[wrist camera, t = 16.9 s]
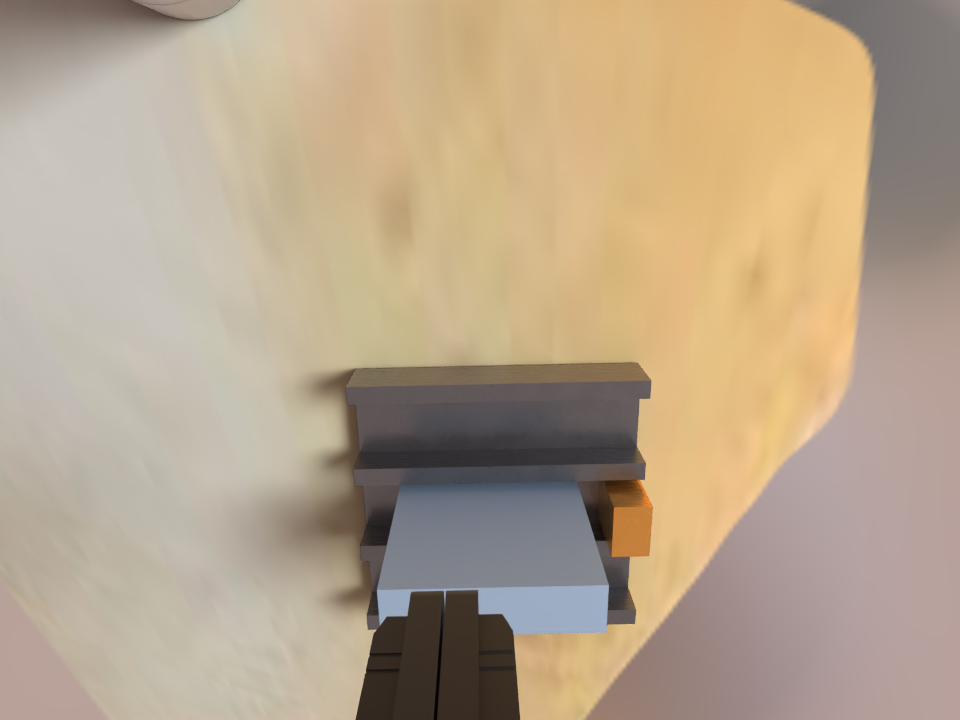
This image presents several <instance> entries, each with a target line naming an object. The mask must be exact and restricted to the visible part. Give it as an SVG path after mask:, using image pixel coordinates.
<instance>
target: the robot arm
mask: <svg viewBox="0 0 960 720" xmlns="http://www.w3.org/2000/svg"><path fill="white" fill-rule="evenodd" d="M132 1H134V2H136V3H139V4H141V5H144V6H146V7H148V8H151V9H153V10H155V11H157V12H160V13H162V14H164V15H166V16H170V17H175V18H179V19H184V20H199V19H205V18H209V17H213V16H217V15H219V14H221V13H223V12H225V11H226V10H228V9H230V8H232V7H233V6H234V5H235V4H236V3H237V2H239V1H240V0H132ZM356 720H520V712H519V700H518V687H517V674H516V662H515V649H514V636H513V630H512V628H511V627H510V625H509V624H508V622H507V620H506V619H505V617H504V616H503V614H479V603H478V590H453V591H446V597H445V599H444V591H413V592H411V595H410V601H409V608H408V615H407V616H387V617H386V618H385V620H384V621H383V622H382V624H381V625H380V626H379V628H378V629H377V630H376V632H375V633H374V635H373V640H372V645H371V649H370V657H369V659H368V664H367V668H366V674H365V678H364V683H363V687H362V692H361V697H360V701H359V706H358V711H357V716H356Z"/></svg>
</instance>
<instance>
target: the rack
mask: <svg viewBox="0 0 960 720" xmlns="http://www.w3.org/2000/svg"><path fill="white" fill-rule="evenodd" d="M650 393H651V380H650V378H649V377H648V376H647V374H646V373H645V372H644V370H643V369H642V368H641V366H640V365H639V364H638V363H607V364H561V365H514V366H468V367H422V368H376V369H355V371H354V373H353V375H352V377H351V378H350V380H349V382H348V384H347V386H346V397H347V405H356V414H357V426H358V437H359V448H360V453H359V456H358V458H357V461H356V463H355V466H354V469H353V473H354V484H355V486H363V494H364V505H365V517H366V528H365V532H364V535H363V539H362V542H361V545H360V549H361V560H362V561H369V562H370V574H371V585H372V595H371V599H370V604H369V608H368V612H367V625H368V630H371V629H378V628H379V626H380V621H379V609H378V597H377V587H378V583H379V578H380V574H381V570H382V565H383V561H384V556H385V552H386V547H387V543H388V538H389V534H390V530H391V525H392V521H393V516H394V512H395V507H396V503H397V498H398V494H399V490H400V485H419V484H465V483H511V482H557V481H577V483H578V486H579V490H580V493H581V496H582V499H583V503H584V506H585V509H586V512H587V516H588V519H589V522H590V525H591V529H592V532H593V535H594V538H595V542H596V545H597V548H598V551H599V555H600V558H601V561H602V564H603V568H604V571H605V574H606V577H607V581H608V584H609V593H608V612H607V624H635V616H636V609H635V606H634V603H633V600H632V597H631V594H630V591H629V589H628V577H629V560H630V557H634V556H649V552H650V538H651V524H652V510H653V506H652V504H651V502H650V500H649V498H648V496H647V494H646V492H645V490H644V488H643V486H642V484H641V482H640V480H645V467H646V463H645V461H644V459H643V457H642V455H641V453H640V452H639V450H638V448H637V430H638V414H639V399H650Z"/></svg>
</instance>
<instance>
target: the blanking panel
mask: <svg viewBox="0 0 960 720" xmlns="http://www.w3.org/2000/svg"><path fill="white" fill-rule="evenodd" d="M453 590H478V603H479V614H503V616H504V617H505V619H506V620H507V622H508V624H509V625H510V627H511V628H512V630H513V635H514V634H562V633H606V632H607V612H608V593H609V584H608V581H607V577H606V574H605V571H604V568H603V564H602V561H601V558H600V555H599V551H598V548H597V545H596V542H595V538H594V535H593V532H592V529H591V525H590V522H589V519H588V516H587V512H586V509H585V506H584V503H583V499H582V496H581V493H580V490H579V486H578V483H577V481H557V482H511V483H465V484H419V485H400V490H399V494H398V498H397V503H396V507H395V512H394V516H393V521H392V525H391V530H390V534H389V538H388V543H387V547H386V552H385V556H384V561H383V565H382V570H381V574H380V578H379V583H378V587H377V597H378V609H379V621H380V625H381V624H382V622H383V621H384V620H385V618H386V617H387V616H407V615H408V608H409V601H410V595H411V592H413V591H444V599H445V597H446V591H453Z"/></svg>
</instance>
